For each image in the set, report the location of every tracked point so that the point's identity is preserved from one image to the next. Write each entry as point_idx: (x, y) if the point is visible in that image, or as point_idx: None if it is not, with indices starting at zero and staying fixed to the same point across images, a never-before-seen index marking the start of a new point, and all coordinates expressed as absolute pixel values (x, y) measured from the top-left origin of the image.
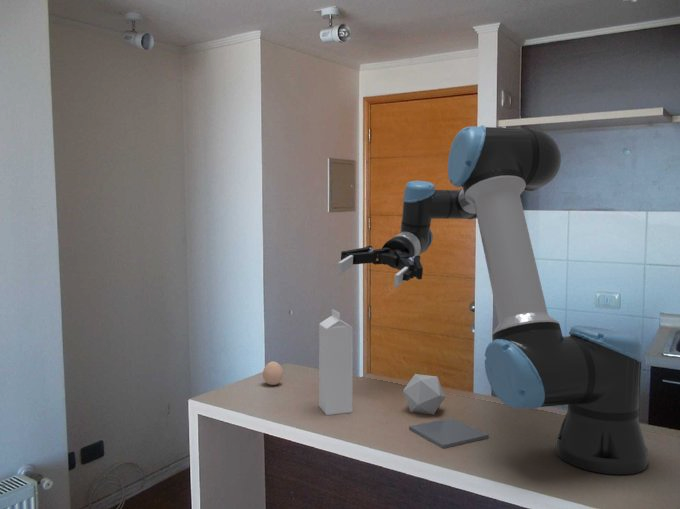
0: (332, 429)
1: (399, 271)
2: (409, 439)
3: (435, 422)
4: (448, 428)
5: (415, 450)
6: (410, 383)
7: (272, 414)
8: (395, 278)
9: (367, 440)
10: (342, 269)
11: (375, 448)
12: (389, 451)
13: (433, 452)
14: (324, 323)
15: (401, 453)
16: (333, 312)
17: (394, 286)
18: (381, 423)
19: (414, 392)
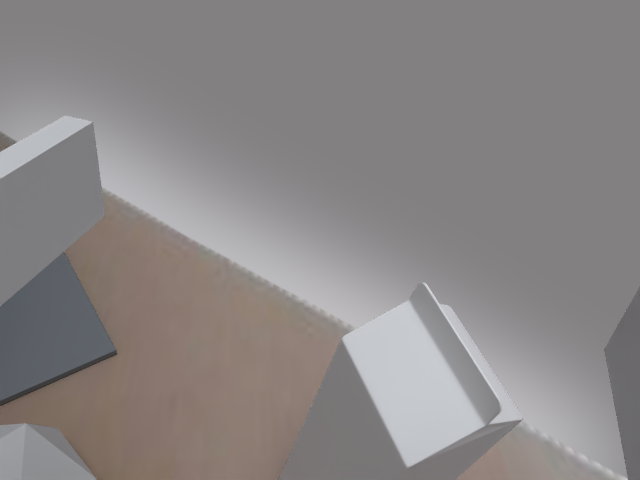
0: (318, 351)
1: (13, 168)
2: (130, 295)
3: (25, 380)
4: (3, 337)
5: (129, 244)
6: (59, 477)
7: (499, 451)
8: (90, 148)
9: (232, 291)
10: (626, 347)
11: (216, 255)
12: (187, 242)
13: (91, 235)
14: (488, 375)
15: (163, 233)
16: (477, 380)
17: (100, 211)
18: (189, 394)
19: (59, 440)
